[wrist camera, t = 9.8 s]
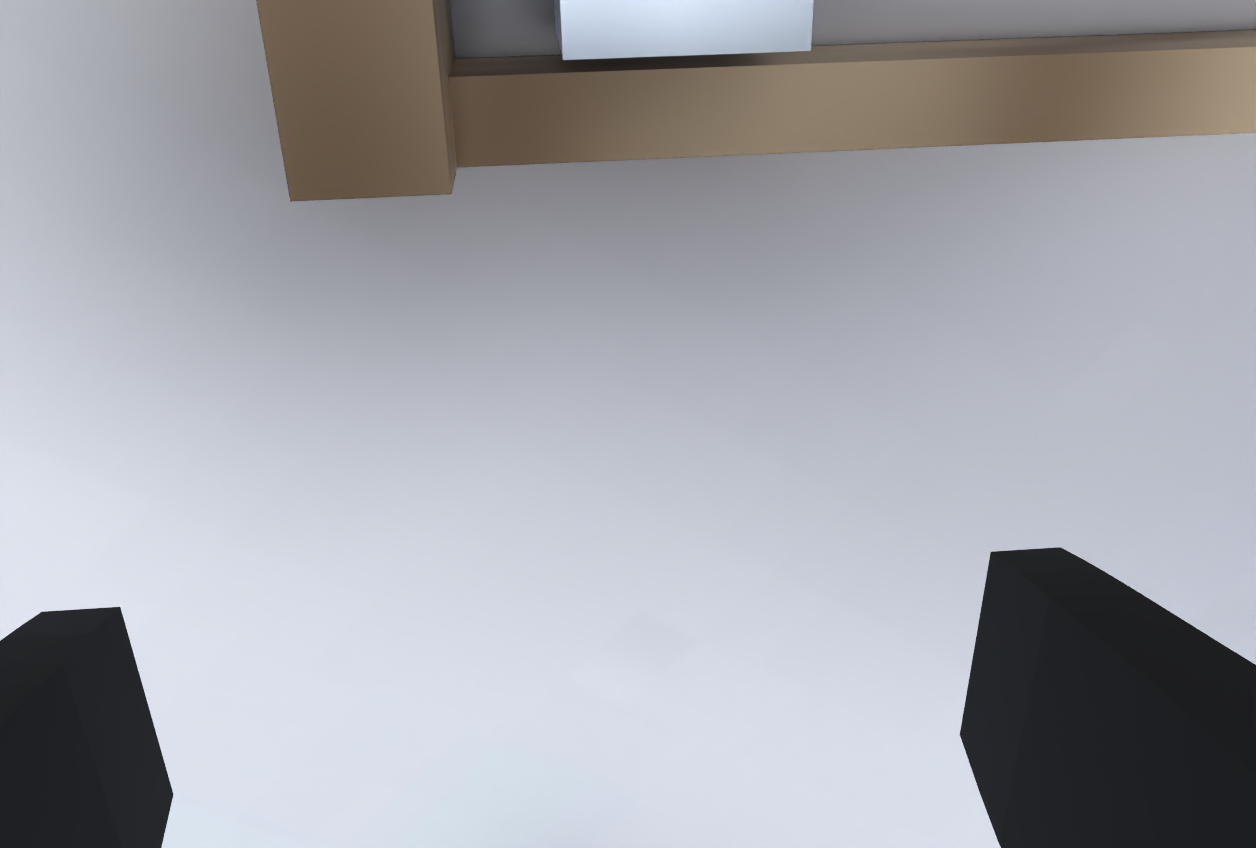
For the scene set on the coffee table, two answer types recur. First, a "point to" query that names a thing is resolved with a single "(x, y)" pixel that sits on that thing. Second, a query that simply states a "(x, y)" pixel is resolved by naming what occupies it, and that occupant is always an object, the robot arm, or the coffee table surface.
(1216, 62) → the vise frame
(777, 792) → the coffee table surface
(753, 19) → the block
